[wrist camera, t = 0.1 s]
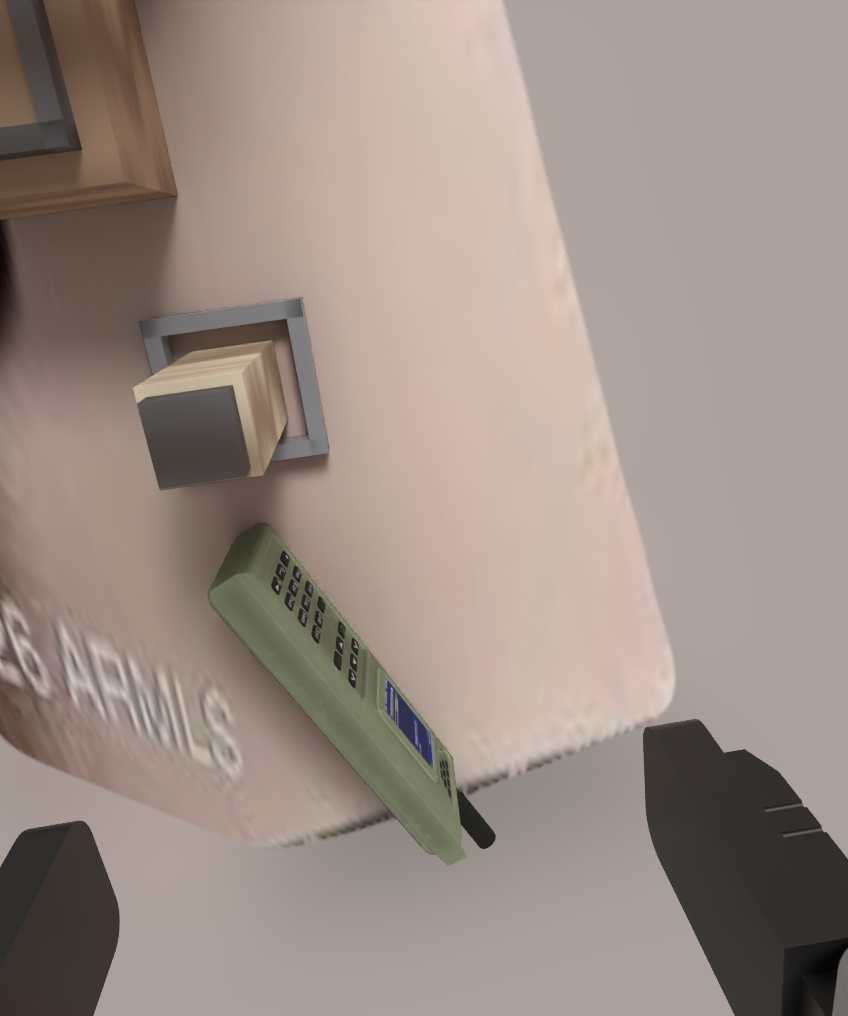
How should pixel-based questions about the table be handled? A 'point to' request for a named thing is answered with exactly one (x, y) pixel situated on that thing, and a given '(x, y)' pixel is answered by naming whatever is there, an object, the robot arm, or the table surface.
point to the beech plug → (213, 415)
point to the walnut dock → (77, 109)
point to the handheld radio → (344, 690)
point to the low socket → (248, 314)
